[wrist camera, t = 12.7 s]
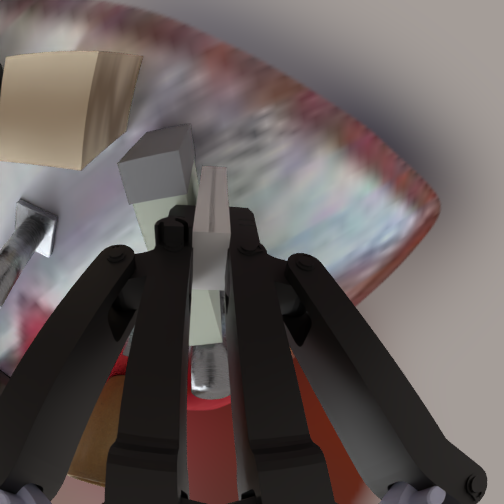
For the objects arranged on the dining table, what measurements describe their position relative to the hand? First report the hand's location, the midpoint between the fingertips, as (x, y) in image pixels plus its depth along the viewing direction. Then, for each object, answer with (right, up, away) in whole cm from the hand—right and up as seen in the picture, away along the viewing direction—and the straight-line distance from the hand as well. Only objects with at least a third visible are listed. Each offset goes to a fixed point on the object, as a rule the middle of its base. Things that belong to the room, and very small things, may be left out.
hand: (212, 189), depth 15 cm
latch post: (-15, -1, +2) cm, 16 cm away
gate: (-2, -1, +4) cm, 4 cm away
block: (-7, +6, -2) cm, 10 cm away
